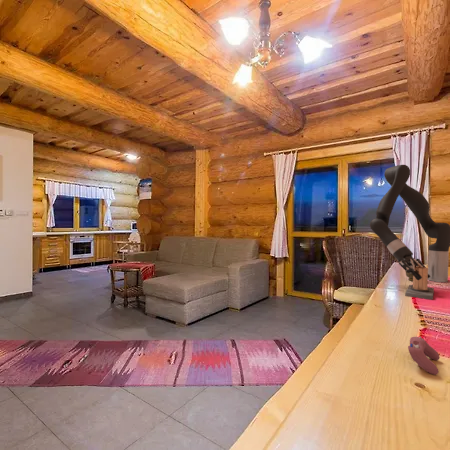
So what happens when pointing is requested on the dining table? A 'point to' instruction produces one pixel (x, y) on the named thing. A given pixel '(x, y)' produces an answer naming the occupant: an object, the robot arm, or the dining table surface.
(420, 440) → the dining table surface
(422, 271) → the copper collar
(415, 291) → the shaft stand
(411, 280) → the bronze rounded piece
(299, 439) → the dining table surface
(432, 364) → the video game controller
